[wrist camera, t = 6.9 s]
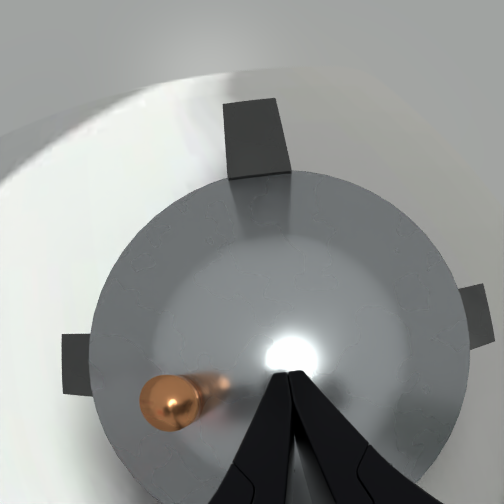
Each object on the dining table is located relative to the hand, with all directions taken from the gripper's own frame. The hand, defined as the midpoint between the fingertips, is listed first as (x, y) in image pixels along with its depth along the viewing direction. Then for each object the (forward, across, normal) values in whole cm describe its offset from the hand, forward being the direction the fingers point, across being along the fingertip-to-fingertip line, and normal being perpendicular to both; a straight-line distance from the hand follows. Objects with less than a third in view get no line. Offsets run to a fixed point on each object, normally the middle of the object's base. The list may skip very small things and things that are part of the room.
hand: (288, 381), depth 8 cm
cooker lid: (+5, 0, 0) cm, 5 cm away
